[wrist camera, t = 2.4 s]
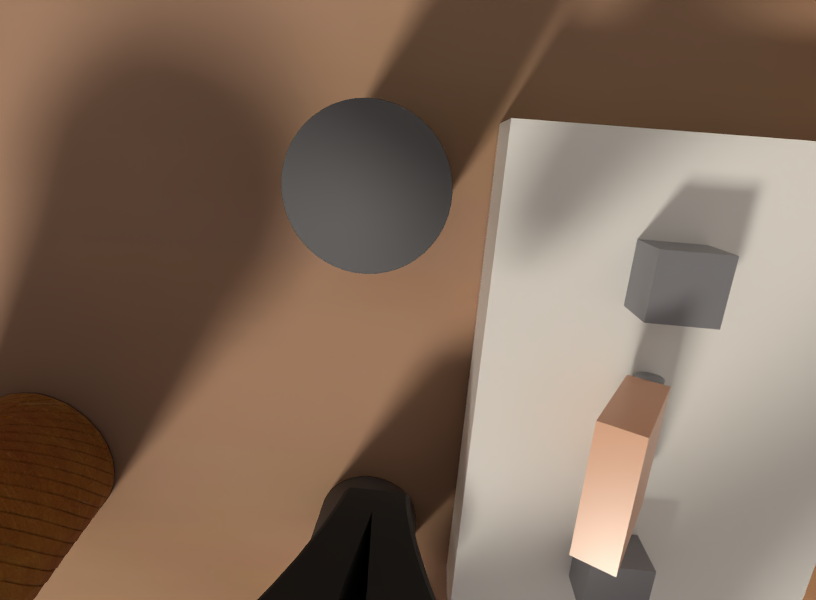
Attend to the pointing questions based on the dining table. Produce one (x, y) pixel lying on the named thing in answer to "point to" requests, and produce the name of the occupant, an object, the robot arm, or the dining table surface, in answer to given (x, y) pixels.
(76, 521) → the disposable coffee cup
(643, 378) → the tan rectangular block
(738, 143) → the panel
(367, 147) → the post
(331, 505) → the post
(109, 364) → the dining table surface
